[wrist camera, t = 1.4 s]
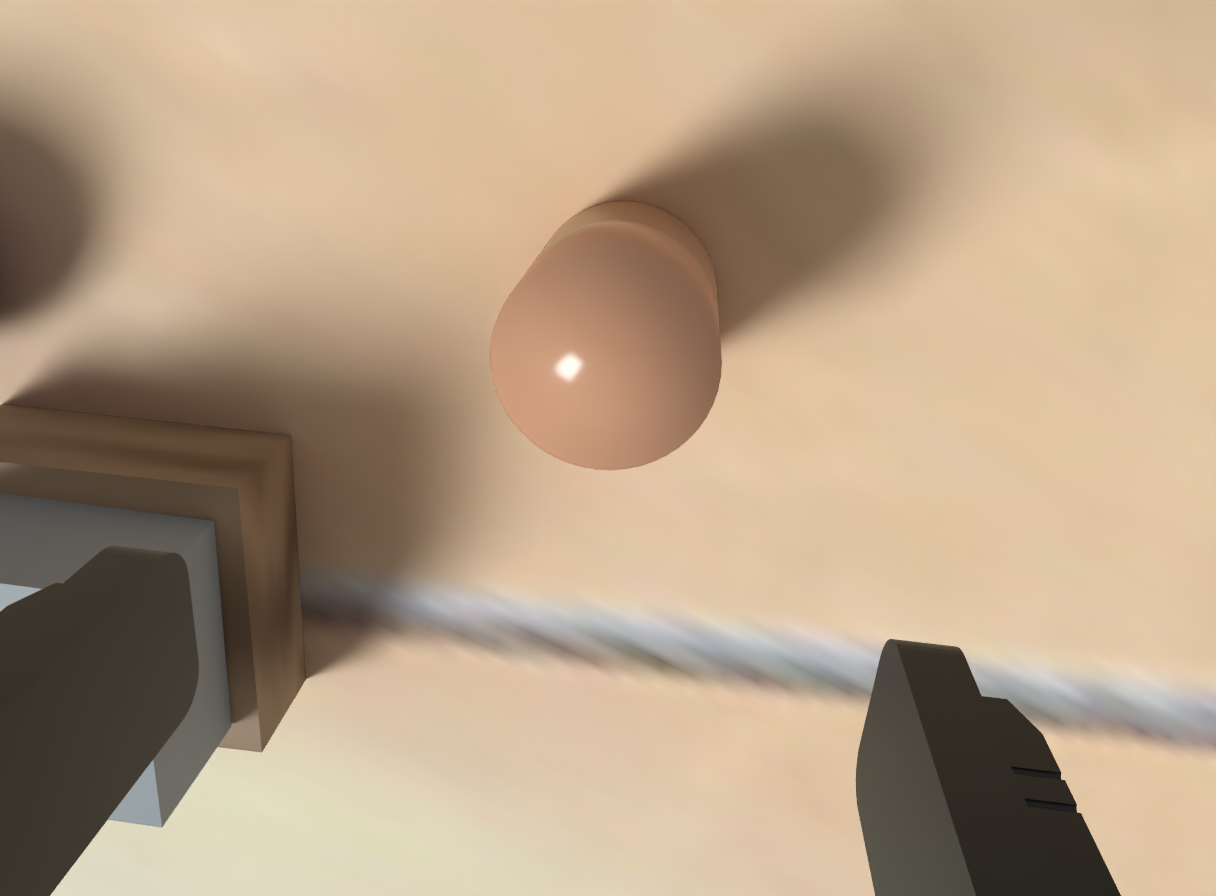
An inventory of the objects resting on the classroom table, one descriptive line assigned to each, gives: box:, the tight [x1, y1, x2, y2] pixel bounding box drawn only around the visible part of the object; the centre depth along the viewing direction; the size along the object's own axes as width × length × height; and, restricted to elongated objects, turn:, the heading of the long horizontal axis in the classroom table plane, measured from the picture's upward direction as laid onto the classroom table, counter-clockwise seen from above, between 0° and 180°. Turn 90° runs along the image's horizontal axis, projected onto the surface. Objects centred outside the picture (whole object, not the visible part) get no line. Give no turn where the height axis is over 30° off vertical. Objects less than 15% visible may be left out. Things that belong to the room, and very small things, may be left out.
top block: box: [0, 493, 231, 827], centre depth 26 cm, size 7×7×4 cm
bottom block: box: [0, 404, 306, 752], centre depth 29 cm, size 9×9×4 cm
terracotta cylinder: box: [490, 201, 722, 470], centre depth 23 cm, size 5×5×6 cm
